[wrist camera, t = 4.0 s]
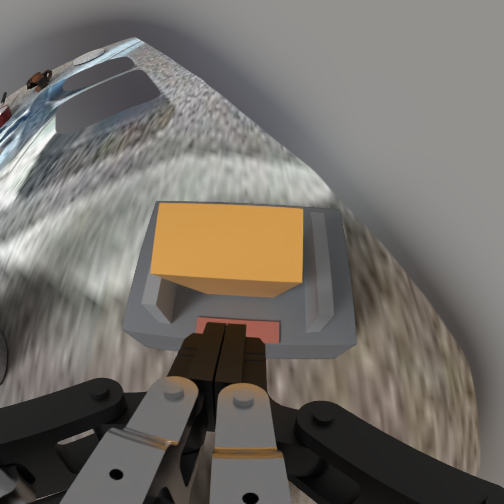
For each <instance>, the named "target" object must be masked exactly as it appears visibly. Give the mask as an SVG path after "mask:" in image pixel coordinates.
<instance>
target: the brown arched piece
mask: <svg viewBox="0 0 504 504" xmlns="http://www.w3.org/2000/svg"><path fill="white" fill-rule="evenodd" d="M47 73H49V76H48V77H47ZM43 76H44V77H43ZM51 76H52V71H51V70H46V71H45V72H44V73H43V74H41V73H40V72H39V73H36V74H35V75H34V76H32V77H31V78H30V79H29V80H28V82H27V84H26V85H27V90H28V89H31V88H33V87H35V86H37V87H36V88H35V90H36V91H37V92H39V91H40V90H41V89H42V88H43V87H45V86H47V85H48V83H47V82H49V79H50V78H51ZM31 81H32V82H31Z"/></svg>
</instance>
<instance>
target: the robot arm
mask: <svg viewBox="0 0 504 504" xmlns="http://www.w3.org/2000/svg"><path fill="white" fill-rule="evenodd" d="M6 365H7V348H6V343H5V339H4V336H3V334H2V332H1V331H0V384H1V382H2V380H3V378H4V375H5V371H6ZM215 427H216V434H215V449H214V451H213V454H212V467H211V485H210V504H292V502H291V496H290V491H289V485H288V480H289V481H290V482H291V483H293V484H294V485H295V486H296V487H297V488H299V489H300V490H301V491H302V492H304V493H305V494H306V495H307V496H309V497H310V498H311V499H313V500H314V501H315V502H317V503H318V504H504V488H503V487H501V486H499V485H496V484H494V483H491V482H488V481H486V480H483V479H480V478H478V477H475V476H473V475H470V474H468V473H466V472H463V471H461V470H459V469H456V468H454V467H452V466H450V465H447V464H445V463H443V462H441V461H439V460H437V459H434V458H432V457H430V456H428V455H426V454H424V453H422V452H420V451H418V450H416V449H414V448H412V447H410V446H409V445H407V444H405V443H403V442H401V441H399V440H397V439H395V438H394V437H392V436H390V435H388V434H386V433H384V432H383V431H381V430H379V429H377V428H376V427H374V426H372V425H370V424H369V423H367V422H365V421H364V420H362V419H360V418H359V417H357V416H355V415H354V414H352V413H350V412H349V411H347V410H345V409H344V408H342V407H341V406H339V405H337V404H335V403H332V402H328V401H313V402H310V403H307V404H305V405H303V406H302V407H301V408H300V409H299V410H297V409H292V408H288V407H285V406H282V405H280V404H278V403H276V402H275V401H273V400H272V399H271V398H270V396H269V395H268V392H267V380H266V348H265V344H264V343H263V341H262V340H261V339H260V338H257V337H246V324H233V323H227V325H226V323H218V322H207V323H206V326H205V329H204V331H203V334H201V333H192V334H190V335H189V336H188V337H186V338H185V339H184V341H183V343H182V345H181V348H180V349H179V351H178V355H177V356H176V358H175V360H174V362H173V365H172V367H171V369H170V371H169V373H168V375H167V377H165V378H161V379H159V380H157V381H156V382H155V383H153V385H152V386H151V387H150V389H149V390H148V391H147V392H137V393H123V389H122V387H121V385H120V384H119V383H118V382H116V381H114V380H112V379H108V378H96V379H92V380H89V381H86V382H83V383H81V384H78V385H75V386H72V387H69V388H66V389H63V390H60V391H57V392H54V393H51V394H48V395H44V396H41V397H38V398H35V399H32V400H28V401H25V402H21V403H18V404H14V405H11V406H7V407H4V408H0V504H190V492H191V488H192V485H193V482H194V479H195V476H196V473H197V469H198V466H199V463H200V460H201V456H202V453H203V450H204V441H205V436H206V431H212V432H215ZM90 429H93V430H94V432H95V433H94V434H91V435H89V436H86V437H84V438H81V439H79V440H76V441H73V442H71V443H68V444H65V445H60V444H57V442H59V441H61V440H64V439H67V438H69V437H72V436H75V435H77V434H80V433H83V432H85V431H88V430H90ZM66 489H67V490H66ZM63 490H64V491H63ZM60 491H62V492H60ZM57 492H59V493H57ZM54 493H56V494H54ZM51 494H54V495H51ZM48 495H51V496H48ZM45 496H48V497H45ZM41 497H45V498H42V499H39V500H36V499H38V498H41Z"/></svg>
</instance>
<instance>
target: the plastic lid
mask: <svg viewBox="0 0 504 504" xmlns="http://www.w3.org/2000/svg"><path fill="white" fill-rule="evenodd" d="M103 53H104V51H103V49H97V50H94V51H91V52H88V53H86V54H84V55H82V56H80V57H78V58H76V59H75V60H74V61H73V63H74V65H78V64H82V63H84V62H87V61H89V60H91V59H94V58H96V57H98V56H99V55H101V54H103Z"/></svg>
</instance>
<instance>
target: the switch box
mask: <svg viewBox="0 0 504 504" xmlns="http://www.w3.org/2000/svg"><path fill="white" fill-rule="evenodd" d="M159 203H194V204H227V205H250V206H269V207H286V208H300V209H303V271H302V283H300V284H298V285H297V286H295V287H293V288H291V289H289V290H287V291H285V292H284V294H283V295H282V294H280V295H278V296H276V297H274V298H269V297H249V296H231V295H216V294H205V293H203V292H200V291H197V290H194V289H191V288H188V287H186V286H183V285H180V284H177V283H174V282H172V281H169V280H166V279H164V278H161V277H158V276H156V275H153V274H150V272H151V262H152V253H153V245H154V237H155V230H156V223H157V216H158V210H159ZM207 322H218V323H226V325H227V323H233V324H246V337H257V338H260V339H261V340H262V341H263V343H264V344H265V348H266V358H268V359H334V358H336V357H337V356H339V355H341V354H342V353H344V352H346V351H347V350H349V349H350V348H352V347H353V346H355V345H356V344H357V340H356V327H355V315H354V304H353V295H352V286H351V278H350V270H349V262H348V255H347V248H346V242H345V236H344V230H343V224H342V218H341V213H340V210H337V209H325V208H313V207H299V206H284V205H268V204H248V203H224V202H189V201H156V204H155V207H154V210H153V213H152V216H151V219H150V222H149V225H148V228H147V232H146V235H145V238H144V242H143V245H142V249H141V252H140V256H139V259H138V263H137V267H136V271H135V274H134V278H133V282H132V286H131V291H130V295H129V299H128V304H127V308H126V313H125V317H124V322H123V327H122V330H123V331H124V332H126V333H127V334H129V335H130V336H131V337H133V338H134V339H136V340H137V341H138V342H140V343H141V344H143V345H144V346H146V347H150V348H156V349H163V350H171V351H179V349H180V348H181V345H182V343H183V341H184V339H185V338H186V337H188V336H189V335H190V334H192V333H201V334H203V331H204V329H205V326H206V323H207Z"/></svg>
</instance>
